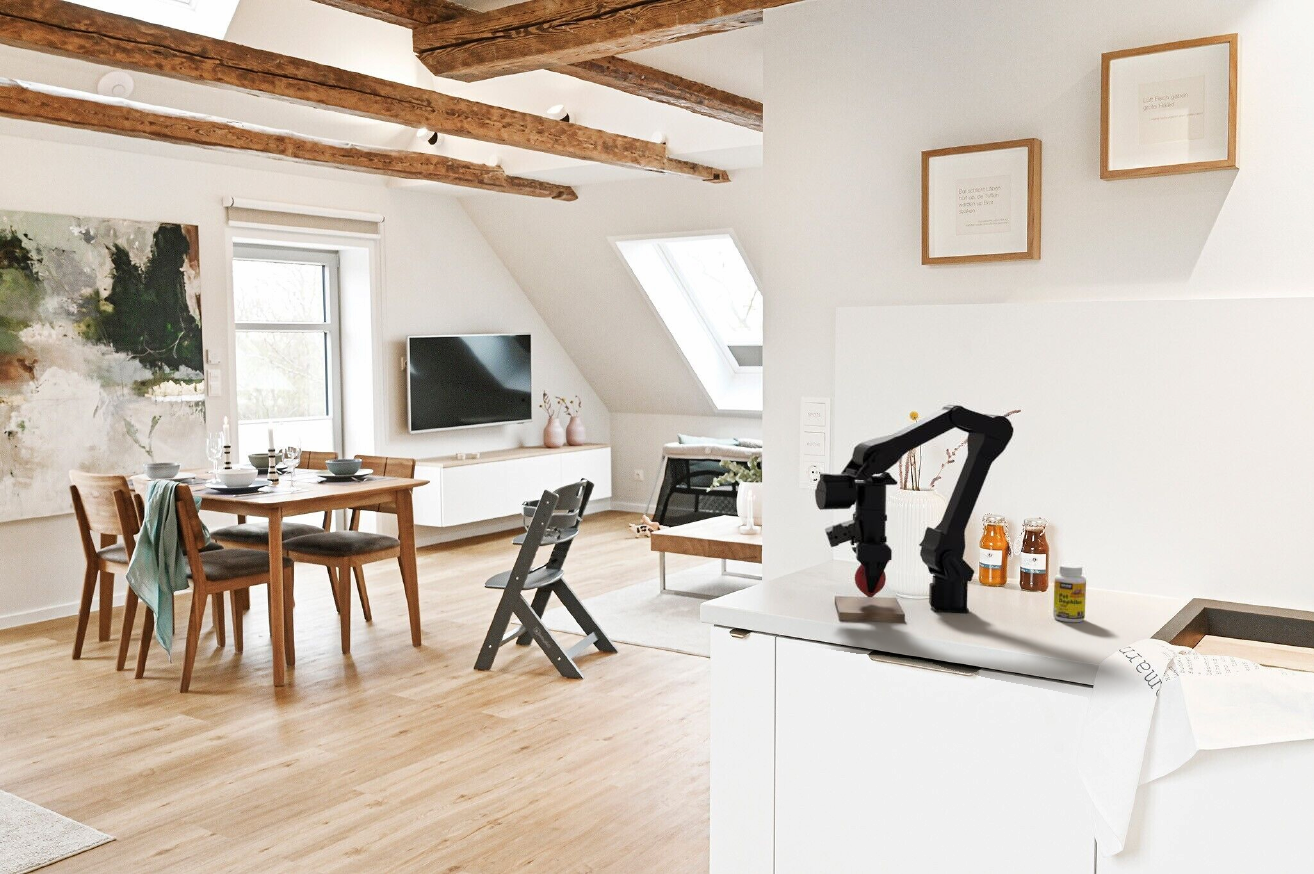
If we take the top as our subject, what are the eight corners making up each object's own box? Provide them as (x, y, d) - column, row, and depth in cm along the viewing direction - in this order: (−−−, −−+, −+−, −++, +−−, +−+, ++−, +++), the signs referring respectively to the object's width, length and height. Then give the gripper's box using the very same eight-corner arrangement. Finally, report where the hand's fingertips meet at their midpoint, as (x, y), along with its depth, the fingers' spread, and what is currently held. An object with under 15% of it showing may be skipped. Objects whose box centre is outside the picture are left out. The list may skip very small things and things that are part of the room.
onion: (876, 602, 203) (877, 560, 203) (849, 597, 207) (849, 556, 206) (890, 596, 208) (891, 555, 207) (863, 592, 211) (863, 552, 211)
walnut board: (895, 605, 214) (896, 597, 214) (904, 622, 200) (904, 614, 200) (834, 603, 215) (834, 595, 215) (839, 620, 201) (839, 612, 201)
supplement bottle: (1053, 621, 201) (1055, 567, 200) (1052, 615, 206) (1054, 562, 205) (1086, 624, 199) (1087, 569, 198) (1083, 617, 205) (1085, 563, 204)
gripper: (825, 501, 216) (824, 578, 217) (830, 514, 198) (829, 598, 199) (881, 502, 215) (880, 579, 216) (892, 515, 196) (891, 600, 198)
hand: (869, 589), depth 207 cm, fingers closed on onion, 6 cm apart
